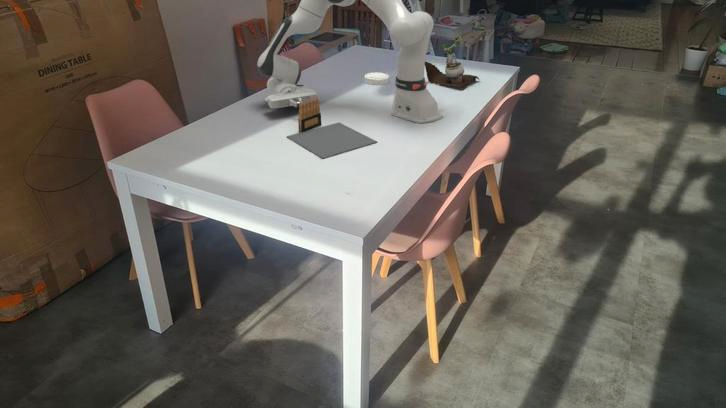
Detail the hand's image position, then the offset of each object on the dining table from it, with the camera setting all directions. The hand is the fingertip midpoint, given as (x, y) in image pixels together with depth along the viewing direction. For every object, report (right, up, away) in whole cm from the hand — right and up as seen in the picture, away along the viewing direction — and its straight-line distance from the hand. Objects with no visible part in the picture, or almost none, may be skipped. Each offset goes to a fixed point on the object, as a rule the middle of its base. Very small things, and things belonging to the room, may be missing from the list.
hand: (299, 104), depth 210 cm
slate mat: (+14, -16, -15) cm, 26 cm away
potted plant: (+69, +20, +48) cm, 86 cm away
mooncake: (+32, +20, +48) cm, 61 cm away
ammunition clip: (+5, -10, -5) cm, 13 cm away
